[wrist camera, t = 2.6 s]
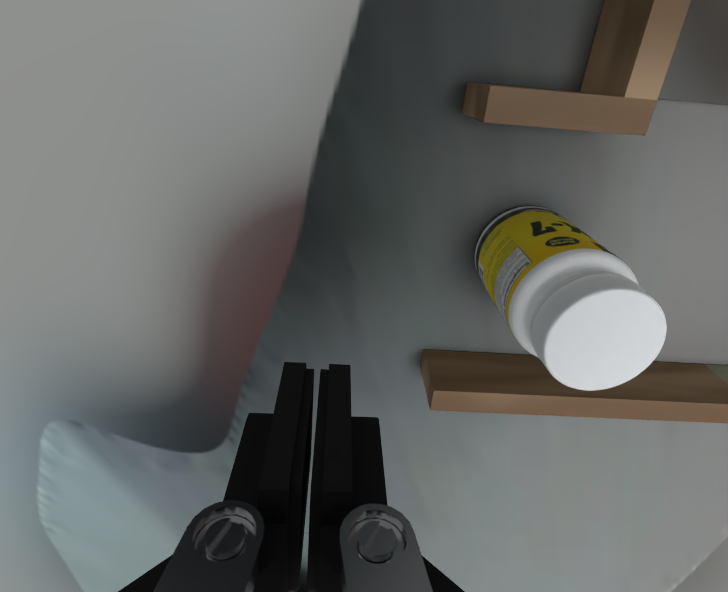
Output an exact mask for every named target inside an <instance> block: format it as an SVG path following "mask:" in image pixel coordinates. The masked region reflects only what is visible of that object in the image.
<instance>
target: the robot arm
mask: <svg viewBox="0 0 728 592" xmlns="http://www.w3.org/2000/svg"><path fill="white" fill-rule="evenodd" d="M313 386H314V369H306V363H294V362H285V363H284V367H283V372H282V376H281V381H280V386H279V391H278V395H277V400H276V405H275V410H274V414H267V413H249V414H248V417H247V420H246V423H245V427H244V430H243V434H242V437H241V441H240V444H239V448H238V451H237V455H236V458H235V462H234V465H233V469H232V472H231V476H230V479H229V483H228V486H227V490H226V493H225V497H224V500H223V501H222V502H218V503H214V504H212V505H210V506H208V507H206V508H204V509H203V510H202V511H201V512H199V513H198V514H197V515H196V516H195V517H194V518H193V519H192V521H191V522H190V524H189V525H188V526H187V528H186V530H185V532H184V534H183V536H182V538H181V540H180V542H179V544H178V545H177V547H176V549H175V551H174V553H173V555H171V556H170V557H168V558H167V559H166V560H164V561H163V562H161V563H160V564H158V565H157V566H155V567H154V568H152V569H151V570H149V571H148V572H146V573H145V574H143V575H142V576H141V577H139V578H138V579H136V580H135V581H133V582H132V583H130V584H129V585H127V586H126V587H124V588H123V589H121V590H120V591H118V592H289V591H299V582H300V571H301V560H302V548H303V537H304V526H305V515H306V504H307V493H308V482H309V471H310V459H311V439H312V413H313ZM307 591H317V592H464V591H463V590H462V589H461V588H460V587H458V586H457V585H456V584H455V583H454V582H452V581H451V580H450V579H449V578H448V577H447V576H445V575H444V574H443V573H442V572H441V571H439V570H438V569H437V568H436V567H435V566H433V565H432V564H431V563H430V562H429V561H428V560H426V559H425V558H424V557H423V556H422V555H421V552H420V549H419V546H418V543H417V540H416V536H415V533H414V530H413V528H412V526H411V524H410V522H409V521H408V520H407V519H406V518H405V516H404V515H403V514H402V513H400V512H399V511H397V510H396V509H394V508H392V507H390V506H387V497H386V487H385V477H384V467H383V456H382V446H381V436H380V426H379V419H378V418H376V417H351V379H350V365H340V364H329V370H325V369H321V372H320V384H319V396H318V408H317V420H316V432H315V444H314V456H313V468H312V480H311V496H310V520H309V545H308V571H307Z"/></svg>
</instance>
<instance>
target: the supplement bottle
mask: <svg viewBox="0 0 728 592" xmlns="http://www.w3.org/2000/svg"><path fill="white" fill-rule="evenodd" d="M475 266H476V270H477V273H478V276H479V277H480V279H481V281H482V283H483V285H484V286H485V288H486V290H487V291H488V293H489V295H490V297H491V298H492V300H493V302H494V303H495V305H496V306H497V308H498V310H499V312H500V313H501V315H502V317H503V318H504V320H505V322H506V323H507V325H508V327H509V328H510V330H511V332H512V334H513V335H514V337H515V338H516V340H517V341H518V342H519V343H520V344H521V346H522V347H523V348H524V349H526V350H527V351H528V352H529V353H531V354H533V355H534V356H536V357H538V358H539V359H540V360H541V361H542V362H543V364H544V365H545V367H546V368H547V370H548V371H549V372H550V374H551V375H552V376H553V377H554V378H555V379H556V380H558V381H559V382H561V383H562V384H564V385H566V386H568V387H571V388H575V389H579V390H587V391H595V390H603V389H608V388H612V387H615V386H617V385H620V384H623V383H625V382H627V381H629V380H631V379H632V378H634V377H636V376H637V375H638V374H640V373H641V372H642V371H644V370H645V369H646V368H647V367H648V366H649V365H650V364H651V363H652V362H653V360H654V359H655V358H656V357H657V355H658V354H659V352H660V350H661V348H662V346H663V344H664V341H665V337H666V326H667V325H666V318H665V315H664V313H663V311H662V309H661V307H660V306H659V304H658V303H657V302H656V301H655V300H654V299H653V298H652V297H651V296H650V295H649V294H647V293H646V292H645V291H644V290H643V288H642V287H641V286H640V285H638V281H637V279H636V277H635V275H634V273H633V272H632V271H631V269H630V268H629V267H628V266H627V265H626V264H625V263H624V262H623V261H622V260H621V259H620V258H618V257H617V256H616V255H615V254H613V253H611V252H610V251H608V250H607V249H606V248H604V247H603V246H602V245H600V244H599V243H597V242H596V241H595V240H593V239H592V238H591V237H589V236H588V235H587V234H585V233H584V232H582V231H581V230H580V229H578V228H577V227H575V226H574V225H573V224H571V223H570V222H569V221H567V220H566V219H565V218H563V217H562V216H560V215H559V214H557V213H556V212H554V211H552V210H550V209H547V208H543V207H536V206H524V207H518V208H514V209H511V210H509V211H507V212H505V213H503V214H501V215H500V216H498V217H497V218H495V219H494V220H493V221H492V222H491V223H490V224H489V225H488V226H487V227H486V228H485V230H484V231H483V233H482V234H481V236H480V238H479V241H478V243H477V247H476V251H475Z"/></svg>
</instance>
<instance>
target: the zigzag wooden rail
mask: <svg viewBox="0 0 728 592" xmlns="http://www.w3.org/2000/svg"><path fill="white" fill-rule="evenodd" d="M657 99H667V100H678V101H690V102H701V103H712V104H724V105H728V0H604V3H603V7H602V11H601V14H600V18H599V22H598V26H597V29H596V33H595V37H594V41H593V44H592V48H591V52H590V56H589V59H588V63H587V67H586V71H585V74H584V78H583V82H582V86H581V89H580V92H576V91H565V90H554V89H542V88H531V87H519V86H508V85H497V84H485V83H474V82H467V87H466V93H465V99H464V105H463V111H462V113H463V114H466V115H468V116H470V117H472V118H475V119H477V120H479V121H481V122H484V123H497V124H509V125H521V126H533V127H545V128H557V129H569V130H581V131H594V132H606V133H618V134H630V135H642V136H645V135H646V132H647V129H648V126H649V123H650V120H651V117H652V114H653V111H654V108H655V105H656V102H657ZM420 368H421V372H422V377H423V381H424V385H425V390H426V394H427V398H428V403H429V407H430V410H436V411H459V412H482V413H505V414H527V415H550V416H573V417H596V418H618V419H641V420H664V421H687V422H709V423H728V365H712V364H693V363H674V362H655V361H653V362H652V363H651V364H650V365H649V366H648V367H647V368H646V369H645V370H644V371H642V372H641V373H640V374H638V375H637V376H636V377H634V378H632V379H631V380H629V381H627V382H625V383H623V384H620V385H617V386H615V387H612V388H608V389H603V390H595V391H587V390H579V389H575V388H571V387H568V386H566V385H564V384H562V383H561V382H559V381H558V380H556V379H555V378H554V377H553V376H552V375H551V374H550V372H549V371H548V370H547V368H546V367H545V365H544V364H543V362H542V361H541V360H540V359H539V358H538V357H536V356H534V355H520V354H501V353H481V352H462V351H443V350H424V349H423V355H422V361H421V367H420Z"/></svg>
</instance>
